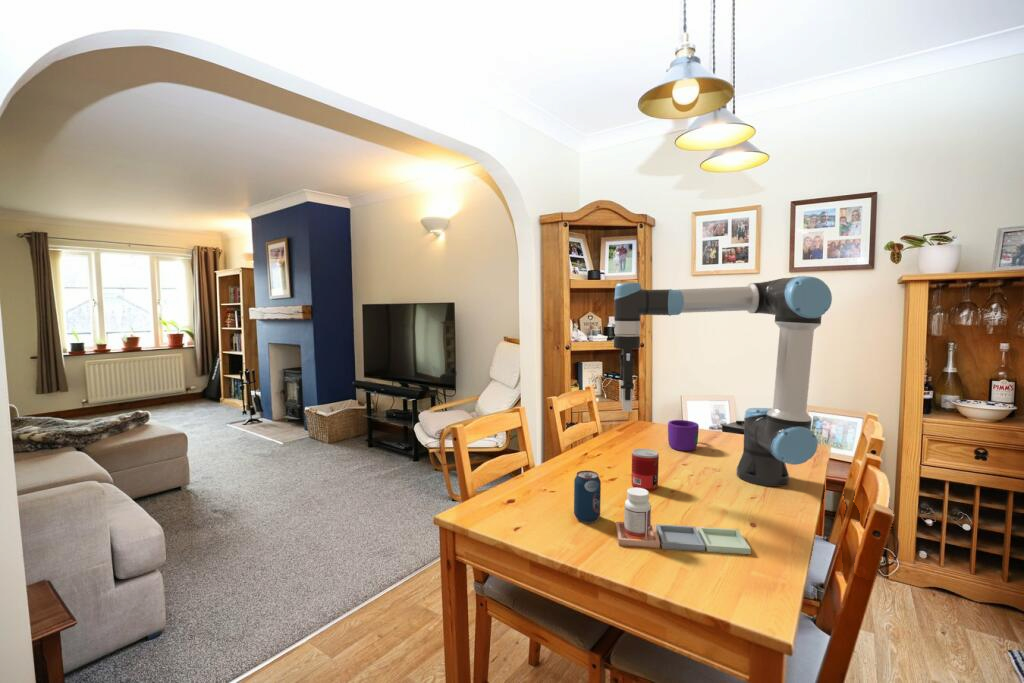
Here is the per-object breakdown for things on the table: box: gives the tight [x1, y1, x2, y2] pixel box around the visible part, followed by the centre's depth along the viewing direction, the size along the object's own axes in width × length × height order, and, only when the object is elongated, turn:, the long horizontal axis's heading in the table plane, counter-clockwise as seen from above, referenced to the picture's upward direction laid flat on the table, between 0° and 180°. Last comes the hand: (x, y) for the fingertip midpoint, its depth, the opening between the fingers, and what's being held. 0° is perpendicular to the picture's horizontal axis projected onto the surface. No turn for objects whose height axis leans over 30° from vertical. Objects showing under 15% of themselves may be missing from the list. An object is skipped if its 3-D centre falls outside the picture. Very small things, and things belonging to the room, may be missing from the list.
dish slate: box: [655, 523, 706, 552], centre depth 117 cm, size 9×9×2 cm
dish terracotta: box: [615, 521, 661, 549], centre depth 118 cm, size 9×9×2 cm
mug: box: [667, 419, 700, 452], centre depth 193 cm, size 17×11×10 cm, turn 150°
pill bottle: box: [623, 487, 652, 540], centre depth 118 cm, size 6×6×11 cm
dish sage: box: [697, 526, 752, 555], centre depth 115 cm, size 9×9×2 cm
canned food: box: [631, 448, 660, 492], centre depth 150 cm, size 8×8×11 cm
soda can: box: [573, 470, 602, 524], centre depth 128 cm, size 7×7×12 cm
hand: (625, 406), depth 145 cm, fingers open, 13 cm apart
